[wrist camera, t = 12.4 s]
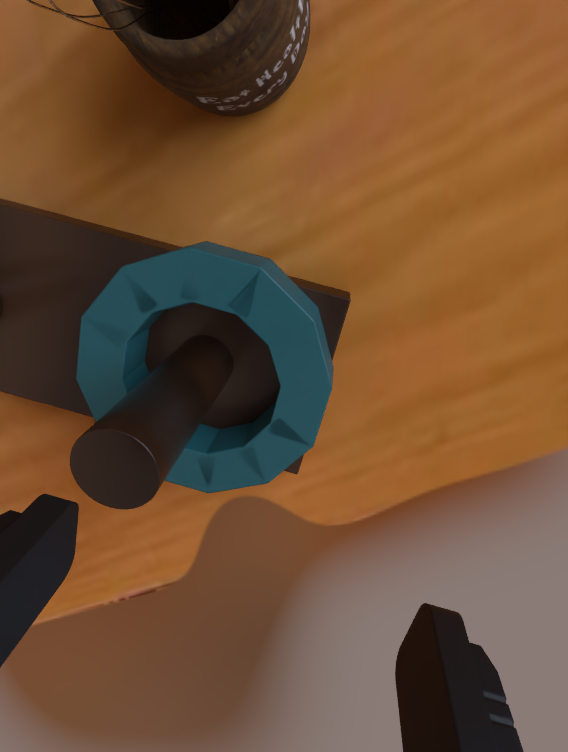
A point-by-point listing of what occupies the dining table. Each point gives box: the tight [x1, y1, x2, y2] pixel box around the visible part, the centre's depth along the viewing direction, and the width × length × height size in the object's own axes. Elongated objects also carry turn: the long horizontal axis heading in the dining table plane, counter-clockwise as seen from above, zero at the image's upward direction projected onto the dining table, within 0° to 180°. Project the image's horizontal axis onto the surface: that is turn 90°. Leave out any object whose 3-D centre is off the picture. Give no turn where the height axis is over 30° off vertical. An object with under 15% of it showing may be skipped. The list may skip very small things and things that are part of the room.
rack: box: [0, 198, 350, 509], centre depth 18 cm, size 22×9×10 cm, turn 76°
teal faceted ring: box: [76, 241, 333, 493], centre depth 20 cm, size 10×10×2 cm
